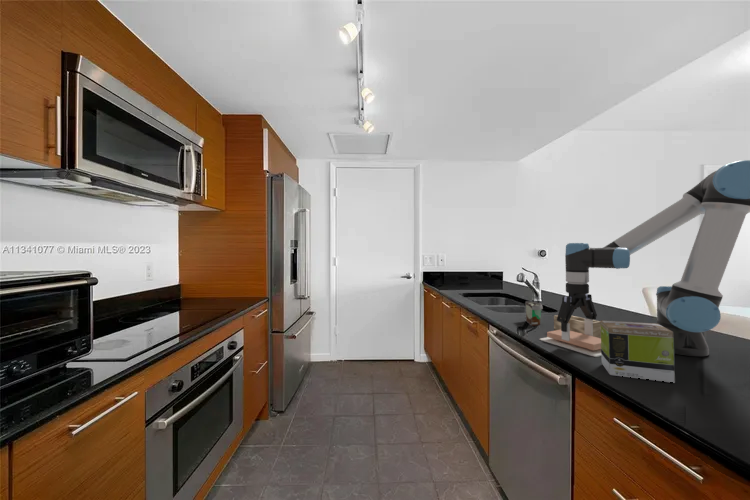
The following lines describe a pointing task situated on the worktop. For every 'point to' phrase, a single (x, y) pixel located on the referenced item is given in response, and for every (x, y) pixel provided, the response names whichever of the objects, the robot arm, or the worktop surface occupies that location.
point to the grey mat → (573, 347)
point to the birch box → (579, 325)
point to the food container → (533, 313)
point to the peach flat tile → (577, 339)
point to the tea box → (638, 350)
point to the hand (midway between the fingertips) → (577, 337)
